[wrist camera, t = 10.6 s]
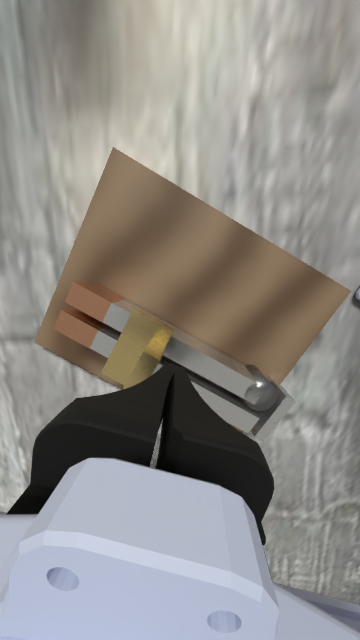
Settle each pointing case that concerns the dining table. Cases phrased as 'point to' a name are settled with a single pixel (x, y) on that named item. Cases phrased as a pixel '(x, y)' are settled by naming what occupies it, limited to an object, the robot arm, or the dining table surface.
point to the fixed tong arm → (214, 395)
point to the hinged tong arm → (179, 346)
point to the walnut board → (191, 274)
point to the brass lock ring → (137, 349)
